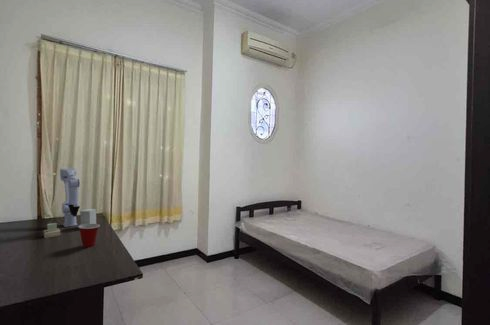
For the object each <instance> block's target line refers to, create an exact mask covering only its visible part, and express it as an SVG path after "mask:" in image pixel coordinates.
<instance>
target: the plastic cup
mask: <svg viewBox="0 0 490 325" xmlns="http://www.w3.org/2000/svg"><path fill="white" fill-rule="evenodd" d="M100 226H101V225H100V224H98V223H96V224H83V225H81V224H80V225H77V227H78V229H79V232H80V237H81V242H82V246H83V248H90V247H94V246H95V244H96V240H97V235H98V231H99V227H100Z"/></svg>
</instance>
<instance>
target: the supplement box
mask: <svg viewBox="0 0 490 325" xmlns="http://www.w3.org/2000/svg"><path fill="white" fill-rule="evenodd" d="M79 213H80V218H79V219H80V222H79V223H80V225H83V224H97V209H96V208H86V209H83V210H80V212H79Z"/></svg>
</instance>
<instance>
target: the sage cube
mask: <svg viewBox="0 0 490 325" xmlns="http://www.w3.org/2000/svg"><path fill="white" fill-rule="evenodd" d="M46 227H47V228H46V230H47V231H48V232H53V231H57V228H58V223H57V222H51V223H47V226H46Z"/></svg>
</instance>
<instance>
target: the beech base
mask: <svg viewBox="0 0 490 325" xmlns="http://www.w3.org/2000/svg"><path fill="white" fill-rule="evenodd" d="M60 236H61V229H60V228H59V227H57V231H53V232H48V231H47V229H44V230H43V237H44V238H45V239H47V238H53V237H54V238H55V237H60Z"/></svg>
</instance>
